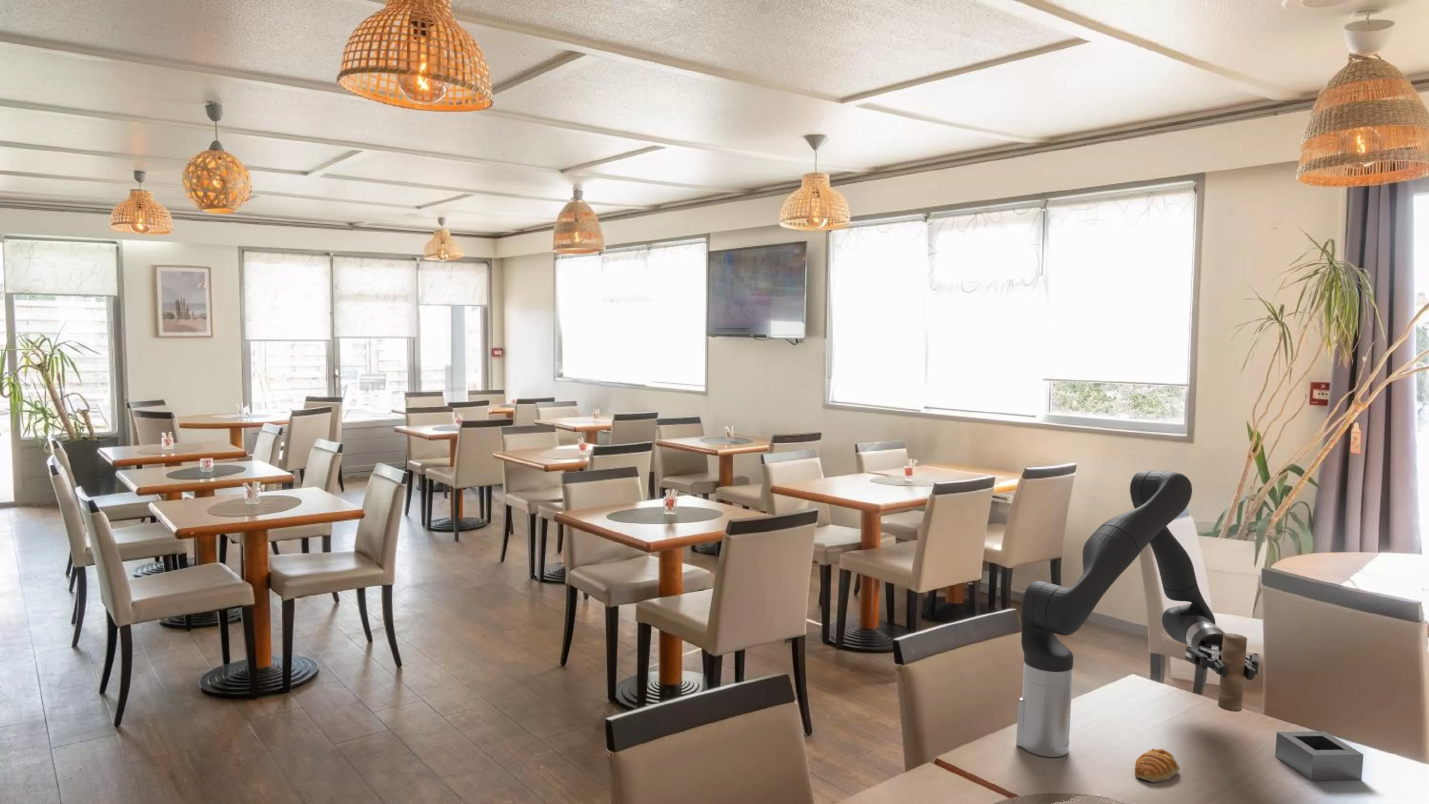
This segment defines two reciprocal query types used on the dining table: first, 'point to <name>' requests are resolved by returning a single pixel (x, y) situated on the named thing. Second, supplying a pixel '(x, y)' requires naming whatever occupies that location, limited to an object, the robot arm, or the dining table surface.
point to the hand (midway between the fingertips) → (1237, 673)
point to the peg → (1232, 672)
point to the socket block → (1319, 756)
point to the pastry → (1156, 766)
